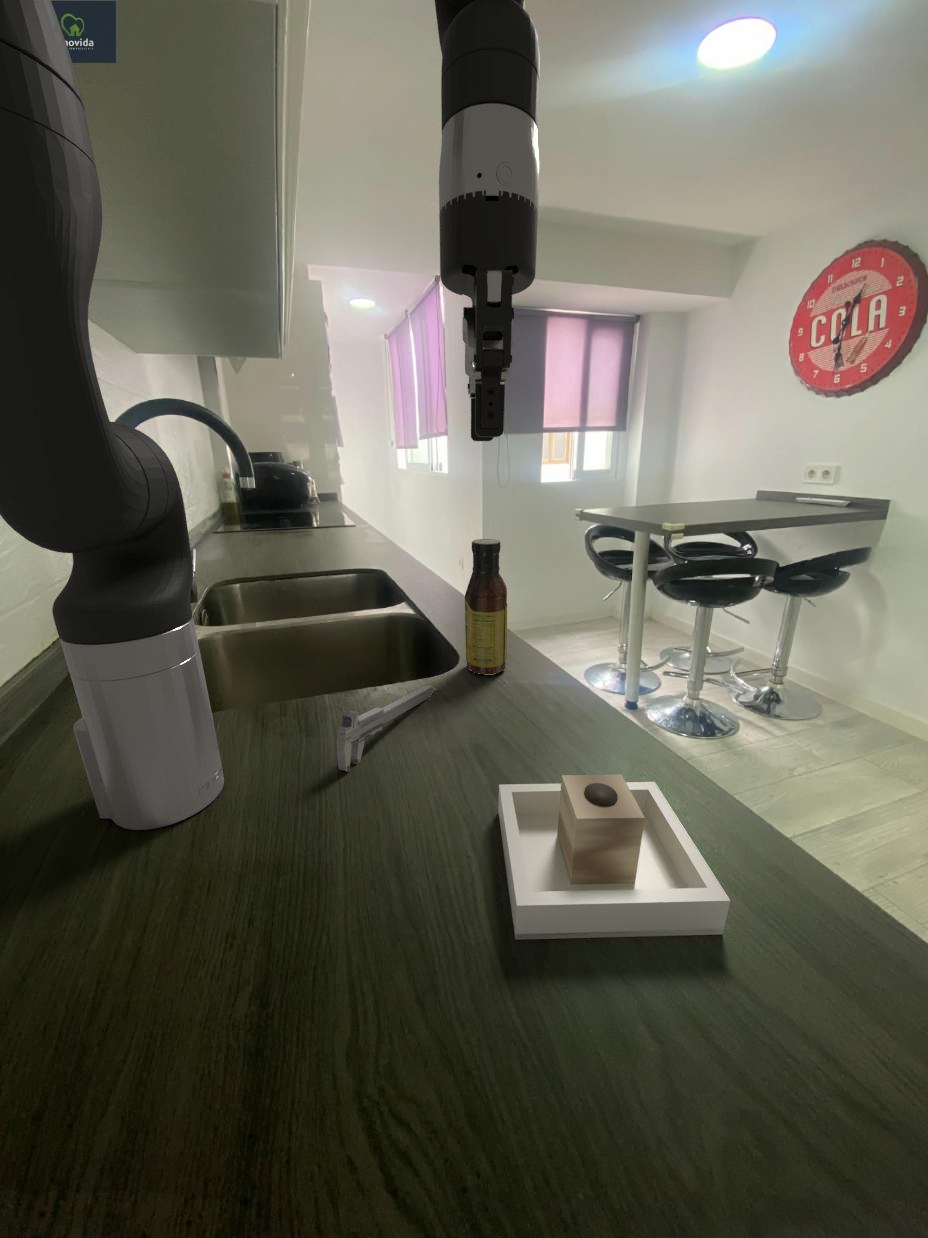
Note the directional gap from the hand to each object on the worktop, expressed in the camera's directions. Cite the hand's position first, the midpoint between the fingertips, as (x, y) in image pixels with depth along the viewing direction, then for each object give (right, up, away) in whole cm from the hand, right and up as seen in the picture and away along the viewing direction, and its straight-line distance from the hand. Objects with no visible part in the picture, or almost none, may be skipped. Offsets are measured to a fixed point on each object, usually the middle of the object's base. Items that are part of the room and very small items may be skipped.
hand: (485, 439), depth 41 cm
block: (+8, -35, -4) cm, 36 cm away
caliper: (-10, -29, +16) cm, 35 cm away
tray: (+8, -35, -4) cm, 36 cm away
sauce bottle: (+1, -24, +31) cm, 39 cm away
